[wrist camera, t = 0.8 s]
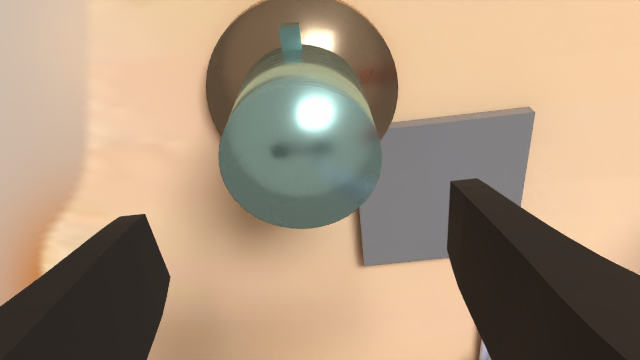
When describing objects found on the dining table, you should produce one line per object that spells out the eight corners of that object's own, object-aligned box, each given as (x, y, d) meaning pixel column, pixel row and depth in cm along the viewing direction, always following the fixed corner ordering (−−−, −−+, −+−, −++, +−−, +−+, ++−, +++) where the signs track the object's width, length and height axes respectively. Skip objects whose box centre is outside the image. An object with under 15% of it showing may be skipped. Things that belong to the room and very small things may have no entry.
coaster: (509, 243, 24) (513, 250, 23) (363, 258, 24) (364, 266, 23) (529, 106, 19) (535, 112, 19) (352, 127, 20) (353, 133, 19)
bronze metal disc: (396, 160, 21) (404, 182, 19) (232, 178, 21) (225, 202, 19) (392, -21, 17) (401, -14, 15) (187, 5, 17) (174, 15, 15)
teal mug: (369, 172, 19) (386, 238, 15) (256, 185, 19) (242, 253, 15) (359, 13, 15) (376, 46, 11) (220, 30, 16) (192, 68, 12)
